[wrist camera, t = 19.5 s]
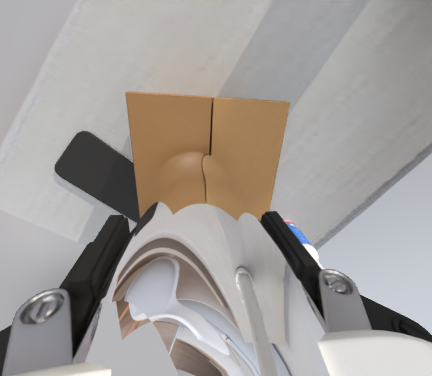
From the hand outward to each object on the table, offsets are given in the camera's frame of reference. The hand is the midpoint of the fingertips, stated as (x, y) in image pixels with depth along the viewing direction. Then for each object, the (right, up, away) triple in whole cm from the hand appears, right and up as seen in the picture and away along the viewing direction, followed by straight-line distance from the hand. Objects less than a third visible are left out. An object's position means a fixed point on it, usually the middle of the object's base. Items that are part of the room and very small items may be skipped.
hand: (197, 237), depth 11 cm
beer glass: (-1, +3, +6) cm, 7 cm away
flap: (+3, +3, +8) cm, 10 cm away
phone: (-12, +3, +18) cm, 22 cm away
